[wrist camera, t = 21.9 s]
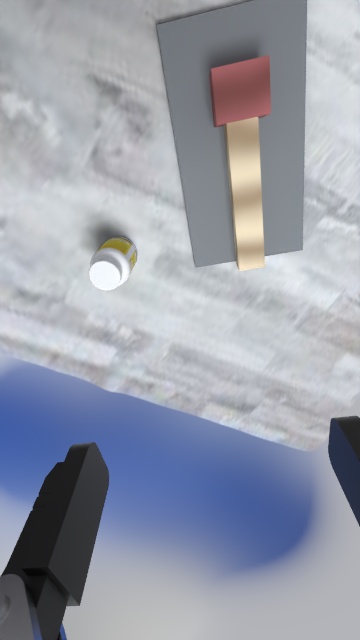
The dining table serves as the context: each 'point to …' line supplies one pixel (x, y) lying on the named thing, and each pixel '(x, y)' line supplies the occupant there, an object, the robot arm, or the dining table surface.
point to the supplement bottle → (112, 263)
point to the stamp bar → (243, 148)
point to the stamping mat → (208, 142)
